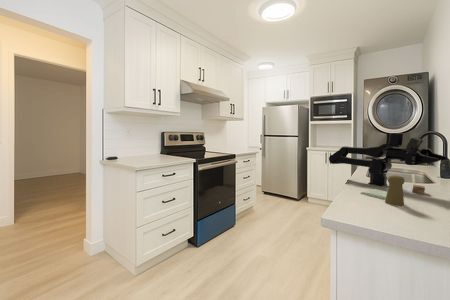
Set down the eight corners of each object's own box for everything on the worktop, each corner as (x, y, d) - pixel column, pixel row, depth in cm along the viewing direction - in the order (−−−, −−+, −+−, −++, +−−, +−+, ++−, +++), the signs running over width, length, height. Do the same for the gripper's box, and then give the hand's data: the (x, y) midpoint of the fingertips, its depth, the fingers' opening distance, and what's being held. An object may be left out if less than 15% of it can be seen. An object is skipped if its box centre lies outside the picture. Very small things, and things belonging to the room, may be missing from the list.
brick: (412, 192, 103) (413, 186, 103) (412, 190, 106) (413, 184, 106) (423, 194, 101) (424, 188, 100) (423, 192, 104) (424, 186, 104)
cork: (408, 206, 85) (410, 177, 84) (392, 205, 85) (394, 177, 85) (396, 201, 91) (398, 174, 90) (381, 201, 91) (383, 174, 91)
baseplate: (360, 193, 102) (360, 191, 102) (373, 190, 108) (373, 188, 107) (386, 200, 93) (386, 197, 93) (399, 196, 98) (399, 193, 98)
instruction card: (383, 189, 110) (383, 188, 110) (389, 186, 116) (389, 185, 116) (415, 194, 101) (415, 193, 101) (419, 191, 107) (419, 190, 107)
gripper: (392, 138, 105) (435, 141, 91) (411, 137, 114) (454, 139, 100) (390, 162, 106) (432, 168, 93) (409, 159, 115) (450, 164, 102)
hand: (443, 159), depth 97 cm, fingers open, 9 cm apart
